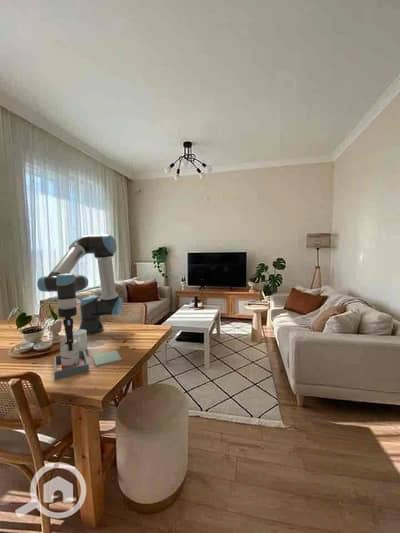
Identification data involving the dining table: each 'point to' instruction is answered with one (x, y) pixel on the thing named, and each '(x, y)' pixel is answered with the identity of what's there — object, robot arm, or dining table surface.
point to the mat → (106, 358)
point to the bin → (72, 370)
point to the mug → (81, 338)
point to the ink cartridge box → (64, 360)
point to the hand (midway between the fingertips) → (69, 352)
